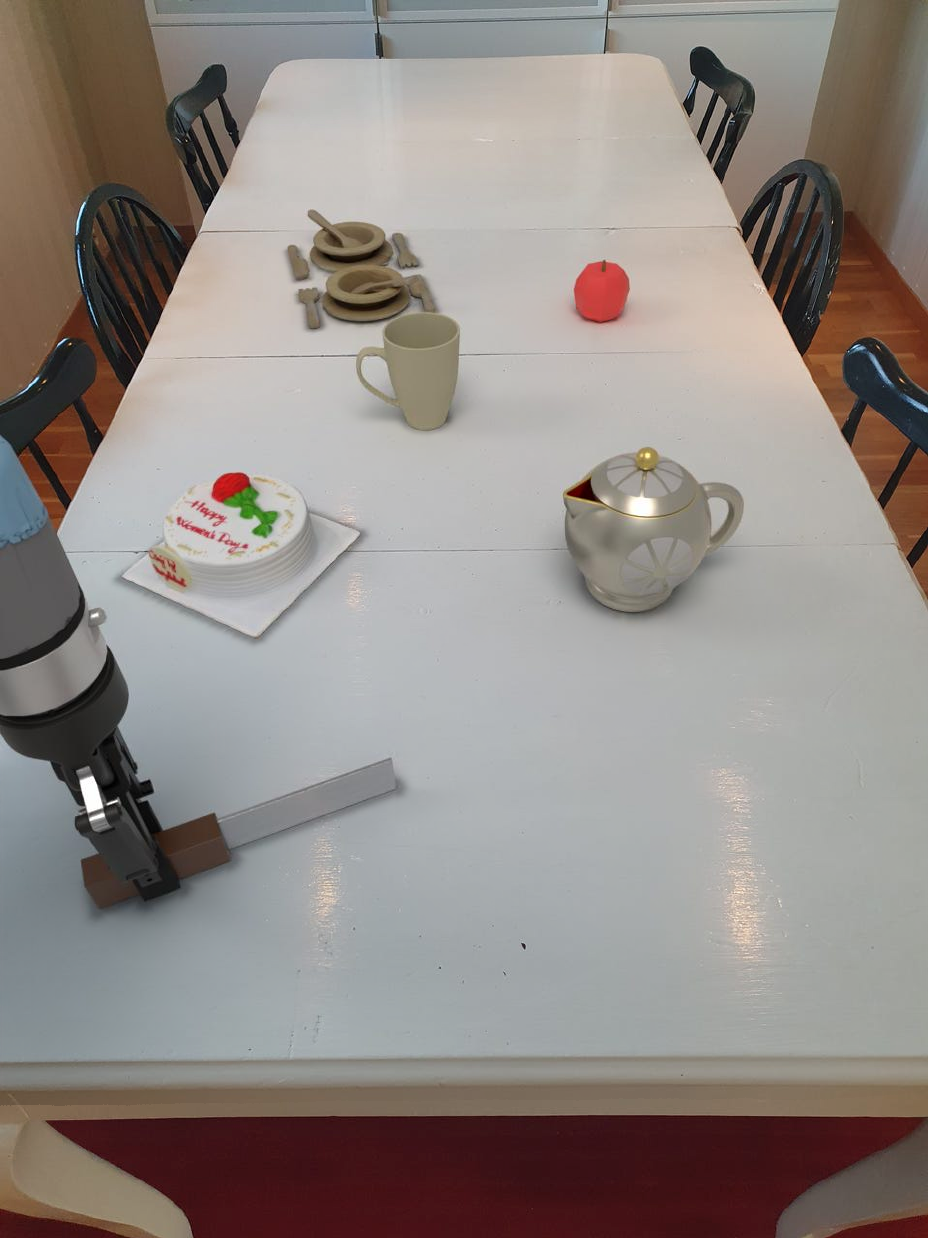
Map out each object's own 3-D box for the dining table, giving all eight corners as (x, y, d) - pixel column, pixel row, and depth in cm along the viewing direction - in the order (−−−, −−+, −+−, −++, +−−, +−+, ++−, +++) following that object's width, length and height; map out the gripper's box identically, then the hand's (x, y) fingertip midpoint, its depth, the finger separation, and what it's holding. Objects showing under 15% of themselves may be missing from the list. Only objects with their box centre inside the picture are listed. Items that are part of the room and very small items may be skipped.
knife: (98, 910, 68) (81, 883, 65) (94, 883, 69) (77, 855, 66) (400, 798, 74) (396, 770, 71) (390, 776, 75) (386, 747, 73)
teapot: (573, 644, 86) (586, 506, 74) (539, 551, 95) (547, 416, 83) (754, 617, 88) (794, 480, 76) (703, 529, 97) (732, 395, 85)
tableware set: (287, 248, 150) (281, 211, 146) (403, 234, 153) (401, 198, 149) (308, 332, 130) (301, 293, 125) (442, 314, 132) (440, 275, 128)
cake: (232, 489, 105) (219, 427, 99) (364, 538, 98) (358, 473, 93) (118, 579, 93) (96, 514, 87) (259, 640, 87) (245, 574, 81)
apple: (596, 296, 136) (601, 243, 130) (638, 314, 131) (645, 259, 126) (560, 314, 132) (563, 260, 126) (602, 333, 128) (607, 278, 122)
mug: (418, 389, 118) (413, 302, 110) (477, 416, 113) (475, 326, 105) (359, 426, 112) (348, 337, 104) (417, 455, 108) (411, 364, 99)
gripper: (130, 748, 49) (229, 943, 65) (94, 571, 59) (187, 778, 76) (-17, 798, 47) (123, 985, 63) (-28, 606, 57) (95, 811, 74)
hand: (158, 872), depth 69 cm, fingers closed on knife, 2 cm apart
